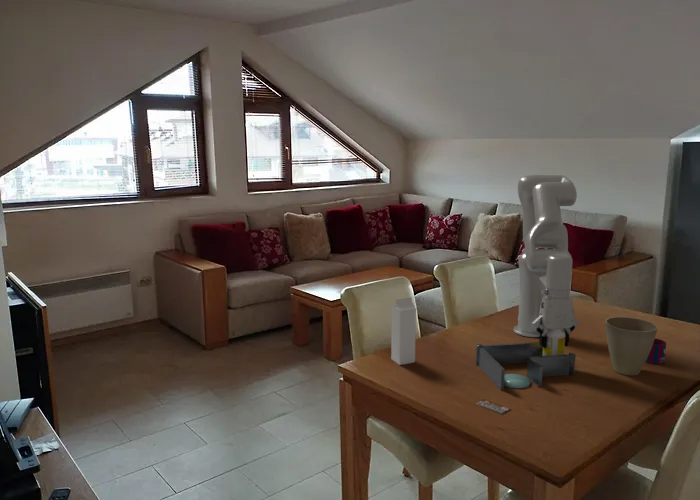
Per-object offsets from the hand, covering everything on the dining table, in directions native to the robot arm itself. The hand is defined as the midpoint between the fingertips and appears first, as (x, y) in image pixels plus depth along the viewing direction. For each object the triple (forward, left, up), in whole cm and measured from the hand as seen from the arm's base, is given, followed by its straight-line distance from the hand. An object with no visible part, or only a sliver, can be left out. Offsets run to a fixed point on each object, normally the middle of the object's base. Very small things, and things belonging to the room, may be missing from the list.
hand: (553, 345), depth 190 cm
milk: (-13, -47, -8) cm, 50 cm away
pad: (+9, -17, -7) cm, 21 cm away
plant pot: (+7, +22, -8) cm, 24 cm away
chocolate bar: (+24, -30, -8) cm, 39 cm away
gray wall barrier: (+4, -10, -7) cm, 13 cm away
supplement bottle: (0, 0, -5) cm, 5 cm away
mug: (-1, +35, -8) cm, 36 cm away
